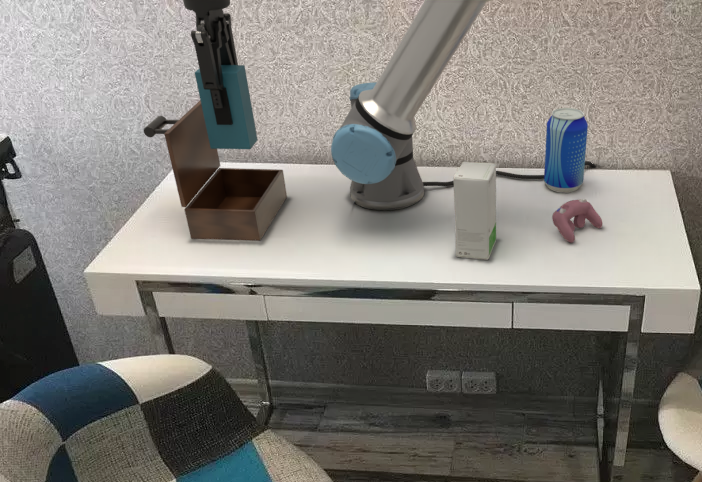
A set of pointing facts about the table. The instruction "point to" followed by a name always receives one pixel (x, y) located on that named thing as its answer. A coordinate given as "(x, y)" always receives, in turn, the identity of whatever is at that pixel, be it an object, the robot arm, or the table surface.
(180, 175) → the lid
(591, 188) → the table surface
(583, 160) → the beer can
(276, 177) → the chest
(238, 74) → the block
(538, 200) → the table surface
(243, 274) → the table surface
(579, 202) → the video game controller
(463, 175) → the cosmetic box
